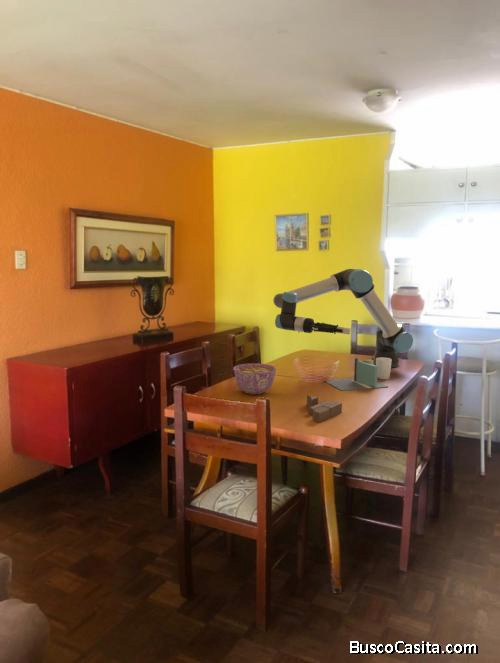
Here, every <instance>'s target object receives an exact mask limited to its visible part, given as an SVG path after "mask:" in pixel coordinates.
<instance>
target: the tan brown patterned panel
mask: <svg viewBox="0 0 500 663" xmlns="http://www.w3.org/2000/svg"><path fill="white" fill-rule="evenodd" d="M357 361H361V362H364V363H368V364H372V365H375V357H374V356H372V357H371V359H359V357H358V358H357V357H356V358H354V368H353V370H354V375H353V378H354V381H356V372H357Z"/></svg>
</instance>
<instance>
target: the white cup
mask: <svg viewBox="0 0 500 663" xmlns="http://www.w3.org/2000/svg"><path fill="white" fill-rule="evenodd" d="M391 361H392V359H390V358H384V357H380V358H376V366H378V367H377V379H379V380H389V379H390V377H391V369H392V367H391Z"/></svg>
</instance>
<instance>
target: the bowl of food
mask: <svg viewBox="0 0 500 663" xmlns="http://www.w3.org/2000/svg"><path fill="white" fill-rule="evenodd" d="M232 369H233V373H234V377H235V382H236V385H237V387H238V388H239V390H242V391H243V392H245V393H246V392H247V393H250V394H249V395H253V394H257V395H261V394H264V393H265V392H267V391H269V390H270V389H271V388H272V386H273V384H274V380H275V376H276V372H277V367H276V366H274V365H272V364H266V363H242V364H238V365H234V367H233V368H232ZM247 393H246V394H247Z"/></svg>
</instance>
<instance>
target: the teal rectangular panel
mask: <svg viewBox="0 0 500 663" xmlns="http://www.w3.org/2000/svg"><path fill="white" fill-rule="evenodd" d="M377 367H378V366H375V365H372V364H368V363H364V362H361V361H359V360H358V361H357V372H356V381H358V382H361V383H364V384H367V385H370V386H373V387H376V386H377V382H378V378H377Z"/></svg>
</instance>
